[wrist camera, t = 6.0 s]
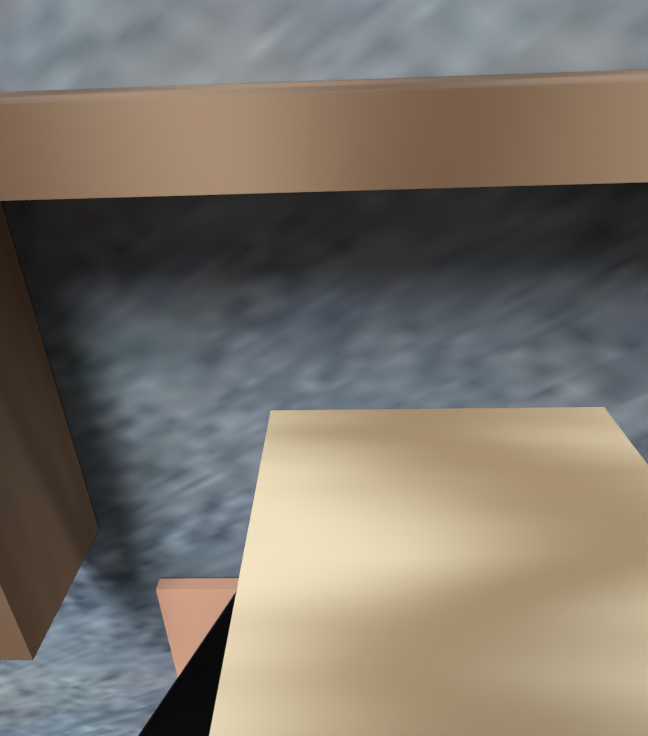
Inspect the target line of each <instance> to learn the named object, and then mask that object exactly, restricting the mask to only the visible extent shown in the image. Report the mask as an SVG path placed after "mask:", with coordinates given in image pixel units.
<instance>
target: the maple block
mask: <svg viewBox="0 0 648 736" xmlns="http://www.w3.org/2000/svg"><path fill="white" fill-rule="evenodd" d="M209 736H648V465H647V463H646V462H645V461H644V459H643V458H642V457H641V455H640V454H639V453H638V451H637V450H636V449H635V447H634V446H633V445H632V443H631V442H630V441H629V439H628V438H627V437H626V435H625V434H624V433H623V431H622V430H621V429H620V427H619V426H618V425H617V424H616V422H615V421H614V420H613V418H612V417H611V416H610V414H609V413H608V412H607V410H606V409H605V408H604V407H562V408H465V409H368V410H271V412H270V417H269V422H268V428H267V433H266V438H265V443H264V449H263V454H262V459H261V464H260V470H259V475H258V480H257V486H256V491H255V496H254V501H253V507H252V512H251V517H250V523H249V528H248V533H247V538H246V544H245V549H244V554H243V559H242V565H241V570H240V575H239V581H238V586H237V591H236V596H235V602H234V607H233V612H232V617H231V623H230V628H229V633H228V639H227V644H226V649H225V654H224V660H223V665H222V670H221V675H220V681H219V686H218V691H217V697H216V702H215V707H214V712H213V718H212V723H211V728H210V734H209Z"/></svg>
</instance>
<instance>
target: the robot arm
mask: <svg viewBox="0 0 648 736" xmlns="http://www.w3.org/2000/svg"><path fill="white" fill-rule="evenodd" d="M235 596H236V592H235V594H234V595H233V597H232V598H231V600H230V601H229V602H228V604H227V605H226V607H225V608H224V610H223V611H222V613H221V614H220V616H219V617H218V619H217V620H216V622H215V623H214V625H213V626H212V628H211V629H210V631H209V632H208V633H207V635H206V636H205V638H204V639H203V641H202V642H201V644H200V645H199V647H198V648H197V650H196V651H195V653H194V654H193V656H192V657H191V659H190V660H189V662H188V663H187V664H186V666H185V667H184V669H183V670H182V672H181V673H180V675H179V676H178V678H177V679H176V681H175V682H174V684H173V685H172V687H171V688H170V690H169V691H168V693H167V694H166V695H165V697H164V698H163V700H162V701H161V703H160V704H159V706H158V707H157V709H156V710H155V712H154V713H153V715H152V716H151V718H150V719H149V721H148V722H147V724H146V725H145V727H144V728H143V729H142V731H141V732H140V734H139V735H138V736H209V734H210V728H211V723H212V718H213V712H214V707H215V702H216V697H217V691H218V686H219V681H220V675H221V670H222V665H223V660H224V654H225V649H226V644H227V639H228V633H229V628H230V623H231V617H232V612H233V607H234V602H235Z"/></svg>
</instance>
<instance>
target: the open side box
mask: <svg viewBox="0 0 648 736" xmlns="http://www.w3.org/2000/svg"><path fill="white" fill-rule="evenodd" d="M637 182H648V69H645V70H617V71H589V72H560V73H532V74H504V75H476V76H447V77H419V78H391V79H363V80H334V81H306V82H278V83H250V84H221V85H193V86H165V87H136V88H108V89H80V90H52V91H23V92H0V660H33V659H34V657H35V655H36V653H37V651H38V649H39V647H40V645H41V643H42V641H43V639H44V637H45V635H46V633H47V631H48V629H49V627H50V625H51V623H52V621H53V619H54V617H55V615H56V614H57V612H58V610H59V608H60V606H61V604H62V602H63V600H64V598H65V596H66V594H67V592H68V590H69V588H70V586H71V584H72V582H73V580H74V578H75V576H76V574H77V572H78V570H79V568H80V566H81V564H82V562H83V560H84V558H85V556H86V554H87V552H88V550H89V548H90V546H91V544H92V542H93V540H94V538H95V536H96V534H97V532H98V530H99V528H98V525H97V522H96V518H95V515H94V512H93V508H92V505H91V502H90V498H89V495H88V491H87V488H86V485H85V481H84V478H83V475H82V471H81V468H80V465H79V461H78V458H77V455H76V451H75V448H74V444H73V441H72V438H71V434H70V431H69V428H68V424H67V421H66V418H65V414H64V411H63V407H62V404H61V401H60V397H59V394H58V391H57V387H56V384H55V381H54V377H53V374H52V371H51V367H50V364H49V360H48V357H47V354H46V350H45V347H44V344H43V340H42V337H41V334H40V330H39V327H38V324H37V320H36V317H35V313H34V310H33V307H32V303H31V300H30V297H29V293H28V290H27V287H26V283H25V280H24V277H23V273H22V270H21V266H20V263H19V260H18V256H17V253H16V250H15V246H14V243H13V240H12V236H11V233H10V230H9V226H8V223H7V219H6V216H5V213H4V209H3V206H2V203H1V201H12V200H46V199H81V198H116V197H151V196H185V195H220V194H255V193H290V192H325V191H359V190H394V189H429V188H464V187H498V186H533V185H568V184H603V183H637Z"/></svg>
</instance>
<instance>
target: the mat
mask: <svg viewBox="0 0 648 736" xmlns="http://www.w3.org/2000/svg"><path fill="white" fill-rule="evenodd" d="M238 581H239V578H171V579H159V582H158V584H157V587H156V592H157V596H158V600H159V604H160V608H161V612H162V616H163V620H164V624H165V628H166V632H167V636H168V640H169V644H170V648H171V652H172V656H173V660H174V664H175V668H176V672H177V676H179V675H180V673H181V672H182V670H183V669H184V667H185V666H186V664H187V663H188V662H189V660H190V659H191V657H192V656H193V654H194V653H195V651H196V650H197V648H198V647H199V645H200V644H201V642H202V641H203V639H204V638H205V636H206V635H207V633H208V632H209V631H210V629H211V628H212V626H213V625H214V623H215V622H216V620H217V619H218V617H219V616H220V614H221V613H222V611H223V610H224V608H225V607H226V605H227V604H228V602H229V601H230V600H231V598H232V597H233V595H234V594H235V592H236V591H237V586H238Z"/></svg>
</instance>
